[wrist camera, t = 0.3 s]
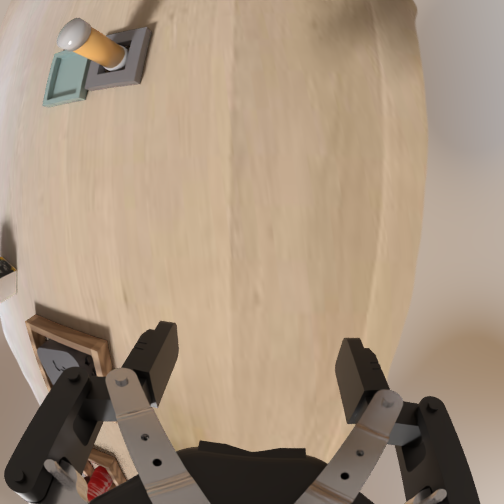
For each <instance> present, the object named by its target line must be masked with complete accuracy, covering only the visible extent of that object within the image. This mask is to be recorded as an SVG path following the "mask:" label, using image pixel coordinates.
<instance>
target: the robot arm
mask: <svg viewBox="0 0 504 504" xmlns="http://www.w3.org/2000/svg"><path fill="white" fill-rule="evenodd" d="M178 352H179V347H178V336H177V325H176V323H172V322H166V321H160V322H159V324H158V325H157V327H156V329H155V330H152V329H149V330H147V331H146V332H144V333H143V334H142V335H141V336H140V338H139V339H138V341H137V343H136V344H135V346H134V348H133V349H132V351H131V352H130V354H129V356H128V357H127V359H126V361H125V362H124V364H123V366H122V367H121V368H117V369H114V370H112V371H110V372H109V373H108V374H107V376H104V377H98V376H89V375H88V373H87V371H86V370H85V369H84V368H81V367H76V366H75V367H70V368H67V369H66V370H64V371H63V372H62V373H61V375H60V376H59V378H58V379H57V381H56V382H55V384H54V385H53V387H52V388H51V390H50V392H49V393H48V395H47V396H46V398H45V399H44V401H43V403H42V404H41V406H40V407H39V409H38V411H37V412H36V414H35V416H34V417H33V419H32V421H31V423H30V424H29V426H28V427H27V430H26V431H25V433H24V434H23V436H22V438H21V440H20V442H19V443H18V445H17V447H16V449H15V451H14V453H13V455H12V457H11V458H10V460H9V462H8V464H7V466H6V469H5V473H4V477H5V481H6V483H7V485H8V486H9V487H10V488H11V489H12V490H13V491H14V492H15V493H17V494H18V495H19V496H21V497H22V498H23V499H24V500H25V501H26V502H28V503H29V504H374V503H373V502H371V501H370V500H369V499H368V498H367V497H365V496H364V495H363V494H362V493H360V492H359V491H360V490H361V488H362V487H363V485H364V483H365V482H366V480H367V479H368V477H369V475H370V473H371V472H372V470H373V469H374V467H375V465H376V463H377V462H378V460H379V458H380V456H381V454H382V452H383V450H384V449H385V447H386V445H387V444H391V445H395V448H396V452H397V457H398V461H399V466H400V471H401V475H402V480H403V485H404V491H405V496H406V503H405V504H480V501H479V498H478V494H477V490H476V487H475V484H474V481H473V477H472V474H471V471H470V468H469V465H468V463H467V460H466V457H465V454H464V451H463V449H462V446H461V444H460V441H459V438H458V436H457V433H456V431H455V429H454V426H453V424H452V421H451V419H450V417H449V414H448V412H447V410H446V408H445V405H444V403H443V402H442V401H441V400H439V399H438V398H436V397H431V396H428V397H424V398H423V399H422V400H421V401H420V403H419V404H417V403H410V402H404V401H403V400H402V398H401V396H400V395H399V394H398V393H396V392H394V391H392V390H390V388H389V386H388V384H387V381H386V379H385V376H384V374H383V372H382V370H381V367H380V365H379V364H378V360H377V358H376V355H375V354H374V353H373V352H372V351H371V350H370V349H369V348H364V347H363V344H362V342H361V340H360V338H344V339H343V342H342V345H341V348H340V351H339V354H338V357H337V360H336V365H335V373H336V377H337V382H338V386H339V390H340V394H341V399H342V403H343V407H344V412H345V416H346V421H347V424H356V425H355V427H354V428H353V430H352V431H351V433H350V434H349V436H348V437H347V439H346V440H345V441H344V443H343V444H342V446H341V447H340V449H339V450H338V451H337V453H336V454H335V455H334V457H333V458H332V459H331V461H330V462H329V463H328V464H327V463H325V462H324V461H322V460H320V459H317V458H315V457H312V456H308V455H306V450H305V448H278V449H272V450H265V451H259V452H250V451H246V450H243V449H240V448H236V447H233V446H230V445H227V444H221V443H214V442H207V441H201V440H200V442H199V446H198V447H191V448H186V449H182V450H179V451H175V449H174V448H173V446H172V444H171V442H170V440H169V439H168V437H167V435H166V433H165V431H164V429H163V427H162V425H161V423H160V421H159V419H158V417H157V415H156V413H155V411H154V409H153V408H152V407H155V408H158V406H159V403H160V401H161V398H162V396H163V393H164V391H165V388H166V386H167V383H168V381H169V378H170V376H171V373H172V371H173V368H174V366H175V363H176V361H177V358H178ZM150 406H151V407H150ZM104 421H112V422H118V425H119V428H120V431H121V433H122V436H123V439H124V441H125V444H126V446H127V449H128V451H129V454H130V456H131V458H132V461H133V463H134V465H135V467H136V470H137V472H138V475H136V476H134V477H133V478H131V479H129V480H127V481H126V482H124V483H122V484H120V485H118V486H116V487H115V488H113V489H111V490H109V491H107V492H105V493H103V494H101V495H99V496H97V497H95V498H94V499H92V500H91V501H90V502H89V501H88V498H87V492H88V486H87V483H86V481H85V479H84V478H83V477H82V473H83V471H84V468H85V465H86V463H87V460H88V458H89V455H90V453H91V450H92V448H93V445H94V443H95V440H96V438H97V436H98V433H99V431H100V429H101V426H102V424H103V422H104Z"/></svg>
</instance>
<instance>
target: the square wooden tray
mask: <svg viewBox="0 0 504 504" xmlns="http://www.w3.org/2000/svg"><path fill="white" fill-rule="evenodd" d="M25 323H26V327H27V330H28V334H29V337H30V341H31V344H32V347H33V350H34V353H35V356H36V359H37V362H38V365H39V368H40V371H41V373H42V376H43V379H44V381H45V384H46V386H47V389H48V391H49V392H50V390H51V388H52V387H53V384H52V382H51V380H50V378H49V377H48V375H47V373H46V371H45V369H44V367H43V365H42V363H41V361H40V359H39V357H38V354H37V349H38V348H39V347H40V346H41V345H42V344H44V343H45V342H46V339H45V336H46V337H48V338H50V339H52V340H54V341H57V342H59V343H61V344H64V345H66V346H69V347H71V348H74V349H76V350H79V351H81V352H84V353H86V354H89V355H92V357H93V362H94V366H95V370H96V374H97V376H98V377H104V376H107V374H108V373H109V372H110V371H112V370H113V368H112V363H111V358H110V353H109V348H108V342H107V341H106V340H103V339H100V338H97V337H94V336H91V335H88V334H85V333H82V332H80V331H77V330H74V329H71V328H69V327H66V326H63V325H61V324H58V323H56V322H53V321H51V320H48V319H46V318H43V317H41V316H39V315H36V314H35V315H34V316H32V317H31V318H30V319H28V320H27V321H25ZM111 422H112V421H111ZM114 423H116V424H117V422H114Z"/></svg>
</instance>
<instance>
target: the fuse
mask: <svg viewBox="0 0 504 504" xmlns="http://www.w3.org/2000/svg"><path fill="white" fill-rule="evenodd" d="M57 45H58V47H60V48H62V49H65V50H67V51H69V52H72V51H73V52H75V53H77V54H79V55H81V56H83V57H86V58H88V59H90V60H92V61H94V62H96V63H98V64H100V65H102V66H103V67H104V68H105V69H107V70H109V71H111V72H114V71H120V70H124V69H125V66H126V62H127V58H128V53H129V50H128V49H127V48H125V47H124V46H122V45H118V44H117V43H116V42H114V41H113V40H111V39H110V38H108V37H106V36H105V35H103V34H102V33H100V32H99V31H97V30H96V29H94V28H92V27H91V25H90V24H89V23H87V22H86V21H84V20H82V19H81V18H75V19H73V20H71V21H69V22H68V23H67V24H66V25H65V26H64V27H63V28H62V30H61V31H60V33H59V35H58V38H57Z"/></svg>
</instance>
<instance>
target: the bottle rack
mask: <svg viewBox="0 0 504 504" xmlns="http://www.w3.org/2000/svg"><path fill="white" fill-rule="evenodd" d="M89 461H91V462H93V463H95V464H97V465H99V466H102V467H104V468H106V470H107V472H108V473H109V475H110V477H111V478H112V480H113V482H114V483H112V485H111V486H110V488H109V489H108V491H109V490H111V489H113V488H115V487H116V486H118V485H120V484H122V483H124V482H126V479H125V477H124V476H123V474H122V472H121V470H120V468H119V466H118V464H117V462H116V459H115V457H112V456H110V455H108V454H105V453H103V452H101V451H98V450H96V449H94V448H92V450H91V453H90V455H89V458H88V460H87V463H86V465H85V468H84V471H83V473H84V474H85V476H90V478H91V476H92V474H93V472H94V471H95V470H94V469H93V467H92V465H91V464H90V462H89Z"/></svg>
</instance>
